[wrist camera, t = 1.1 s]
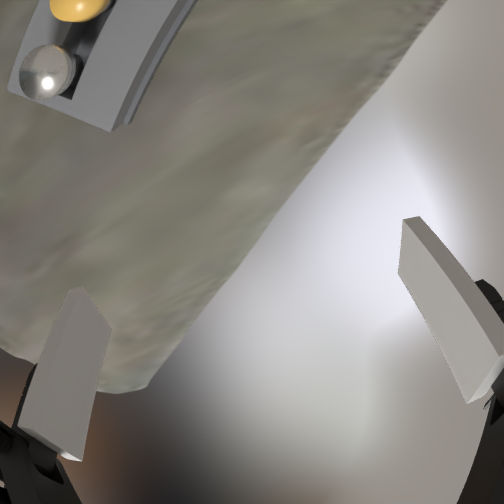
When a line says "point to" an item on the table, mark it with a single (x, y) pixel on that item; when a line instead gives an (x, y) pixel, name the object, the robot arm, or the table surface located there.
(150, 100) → the table surface
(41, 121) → the table surface
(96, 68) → the mount
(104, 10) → the yellow round knob
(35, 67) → the knob
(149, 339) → the table surface
